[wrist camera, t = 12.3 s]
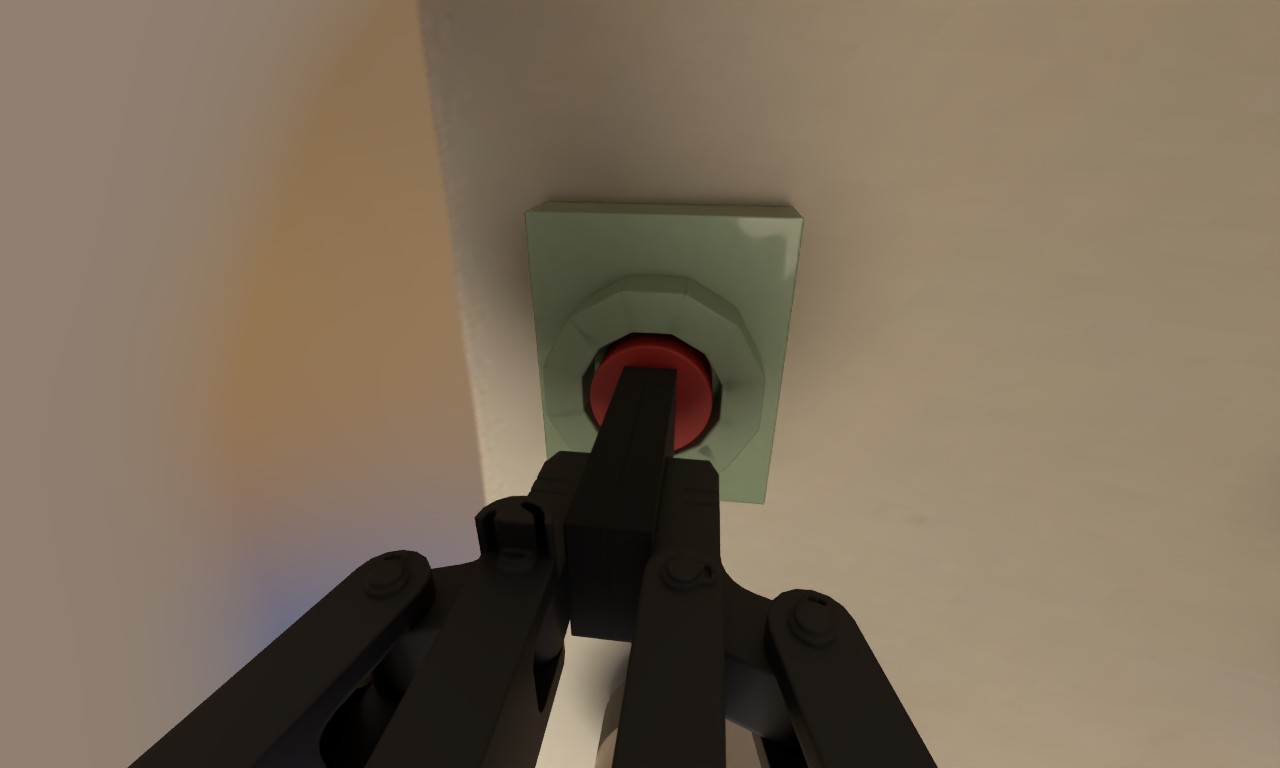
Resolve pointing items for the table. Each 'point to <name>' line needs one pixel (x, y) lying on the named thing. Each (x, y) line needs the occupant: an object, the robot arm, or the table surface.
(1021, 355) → the table surface
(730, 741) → the planter
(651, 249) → the button base
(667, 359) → the button
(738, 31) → the table surface
